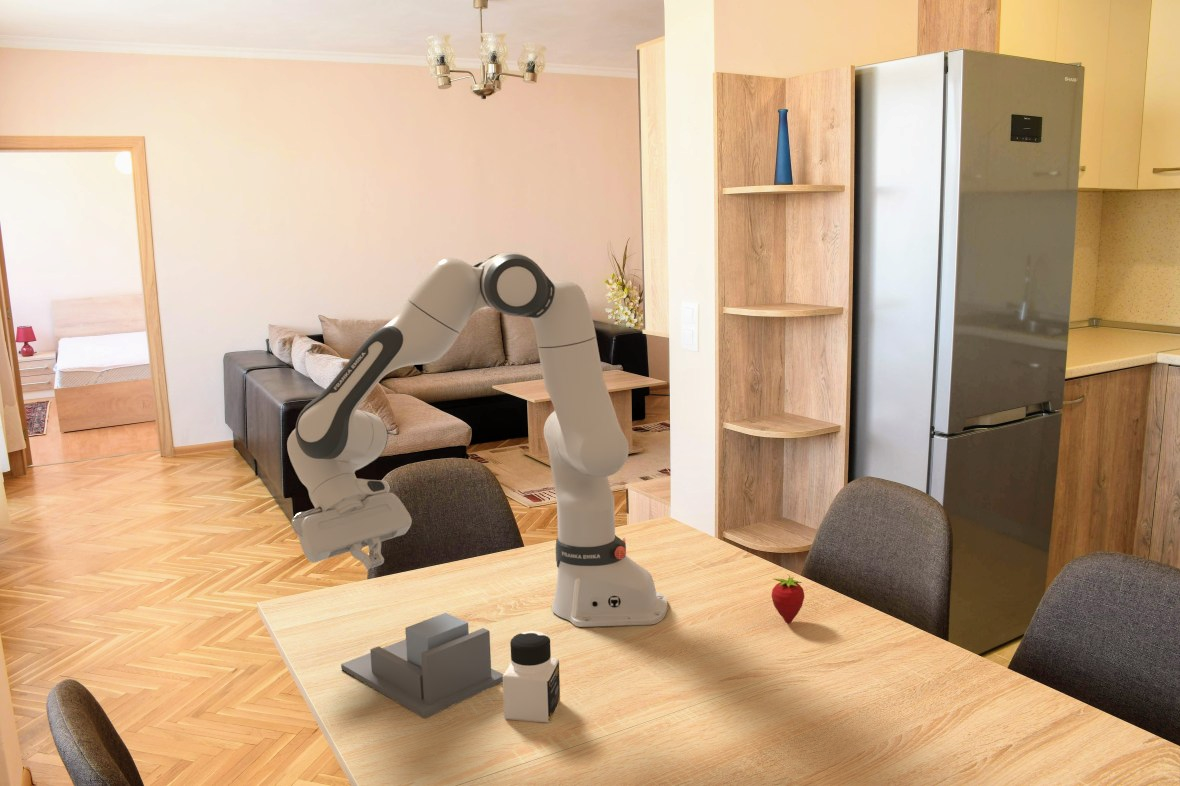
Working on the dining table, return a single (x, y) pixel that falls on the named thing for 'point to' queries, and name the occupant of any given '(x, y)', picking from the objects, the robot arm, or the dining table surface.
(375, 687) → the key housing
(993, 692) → the dining table surface
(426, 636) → the key block
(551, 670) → the medicine bottle
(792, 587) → the strawberry
